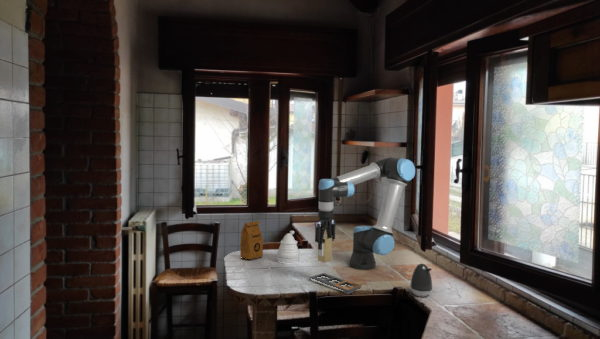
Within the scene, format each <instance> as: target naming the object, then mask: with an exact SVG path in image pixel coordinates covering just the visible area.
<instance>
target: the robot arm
mask: <svg viewBox="0 0 600 339" xmlns="http://www.w3.org/2000/svg"><path fill="white" fill-rule="evenodd" d="M415 176H416V167H415V164H414V162H413V161H411V160H410V159H407V158H400V157H384V158H382V159H379V160H375V161H373V162H371V163H370V164H369V165H367V166H364V167H361V168H358V169H356V170H353V171H352V170H351V171H350V172H349V171H348V172H347V173H343V174H340V175H338V176H335V177H332V178H321V179H320V180H319V183H318V214H317V216H318V218H319V219H318V222H315V223H314V227H315V228H314V229H315V230H314V233H315V234H314V242H315V243H317V250H318V249H319V255H320V256H323V250H324V243H323V237H324V236H325V232H326V236H327V237H330V238H332V242H334V241H335V239H336V224H337V221H336V220H335V219H333V217H334V199H335V198H345V197H346V198H348V197H352V196H353V195H354V194H355V185H358V184H361V183H364V182H366V181H370V180H372V179H381V178H386V181H387V186H386V190H385V192H384V195H383V196H384V197H383V200H382V203H381V206H380V210H379V213H378V215H377V216H378V217H377V220H376V224H374V225H358V226H355V227H353V233H352V234H353V238H352V240H353V243H352V253H351V256H350V259H349V267H351V268H354V269H358V270H372V269H375V268H376V266H377V262H376V259H375V255H379V256H386V255H388V254H390V253H391V252H392V251H393V249H394V247H395V244H396V243H395V239H394V237H393V234H394V232H393V230H392V228H393V224H394V221H395V217H396V215H397V211H398V207H399V205H400V201H401V197H402V194H403V191H404V188H405V187H406V186H408V184H409V182H410V181H411V180H412V179H414V177H415ZM374 254H375V255H374Z"/></svg>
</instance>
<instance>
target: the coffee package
mask: <svg viewBox="0 0 600 339" xmlns="http://www.w3.org/2000/svg"><path fill="white" fill-rule="evenodd" d="M259 225H260V221H259V220H256V221H250V222H245V223H244V225H243V228H241V229H242V230H241V234H240V258H241V257H242V258H241V259H243V258H245V259H244V260H247V259H251V260H255V259H254V258H257V259H259V258H258V257H261V258H263V256H264V250H263V246H264V245H263V244H264V240H263V236H262V232H261V229H260V226H259Z"/></svg>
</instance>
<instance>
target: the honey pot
mask: <svg viewBox="0 0 600 339" xmlns="http://www.w3.org/2000/svg"><path fill="white" fill-rule="evenodd" d="M294 234H295V231H294V230H289V233H286V234H285V235H284V236H283V238H282V239H281V240H280V245H279V247H278V250H277V255H276V257H277V258H276V259H277V260H278V261H280V262H285V263H294V262H298V261H299V262H300V252H299V248H298V245H297V244H298V241H297V240H295V237H294V236H293V235H294ZM277 260H276V261H277ZM299 262H298V263H299Z"/></svg>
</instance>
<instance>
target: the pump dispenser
mask: <svg viewBox="0 0 600 339" xmlns="http://www.w3.org/2000/svg"><path fill="white" fill-rule="evenodd" d="M430 271H432V267H428V265H426V264H425V263H419V264H417V265H416V267H415V268H414V270H413V273H412V275H411V279H410V282H409V284H410V285H409V286H410V290H411V292H412V293H413V295H414V296H417V297H422V298H424V297H427V296H429V295H430V294H431V292H432V290H433V280H432V276H431V275H432V274H431V272H430Z"/></svg>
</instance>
